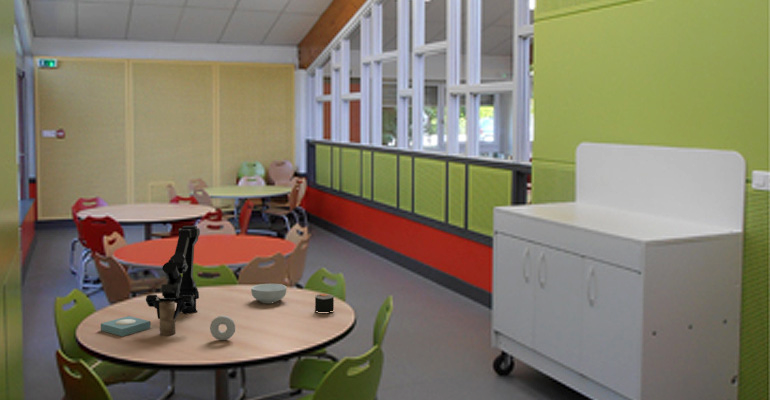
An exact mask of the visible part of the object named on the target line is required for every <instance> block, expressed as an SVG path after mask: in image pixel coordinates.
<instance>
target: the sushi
mask: <svg viewBox="0 0 770 400" xmlns="http://www.w3.org/2000/svg"><path fill="white" fill-rule="evenodd" d="M314 298H315V300H314V301H315V304H314V305H315V306H314V312H315V311H318V312H330V311H333V310H334V308H335V307H334V306H335V305H334V295H333V294H329V293H322V292H321V293H318V294H315V297H314ZM334 311H335V310H334ZM334 311H333V312H334Z"/></svg>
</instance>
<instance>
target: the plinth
mask: <svg viewBox="0 0 770 400" xmlns="http://www.w3.org/2000/svg"><path fill="white" fill-rule="evenodd" d="M151 325H152V324H151V321H150V320H147V319H142V318H138V317H135V316H130V315H128V316H124V317H123V316H122V317H120V318H117V319H116V318H115V319H113V320H109V321H105V322H101V323H100V331H101V332H105V333H108V334H112V335H116V336H120V337H125V336H128V335H132V334H135V333H139V332H142V331H145V330H149V329H151V327H152V326H151Z"/></svg>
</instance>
